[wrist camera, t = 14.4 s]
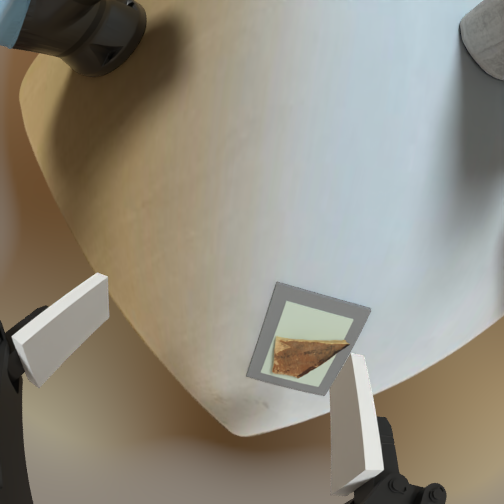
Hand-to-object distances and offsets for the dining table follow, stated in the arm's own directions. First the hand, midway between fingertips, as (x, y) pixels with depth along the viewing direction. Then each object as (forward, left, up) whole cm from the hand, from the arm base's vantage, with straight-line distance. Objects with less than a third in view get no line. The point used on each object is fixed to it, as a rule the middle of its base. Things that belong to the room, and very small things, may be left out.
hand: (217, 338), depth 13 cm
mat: (+9, -16, -24) cm, 31 cm away
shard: (+9, -16, -24) cm, 30 cm away
